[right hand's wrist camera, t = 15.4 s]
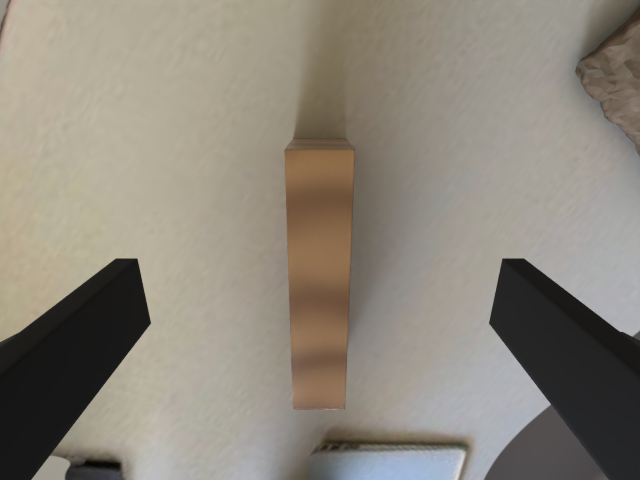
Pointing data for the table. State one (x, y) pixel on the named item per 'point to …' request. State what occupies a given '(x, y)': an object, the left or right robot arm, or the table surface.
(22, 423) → the right robot arm
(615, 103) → the stone
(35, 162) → the table surface
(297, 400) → the bar
